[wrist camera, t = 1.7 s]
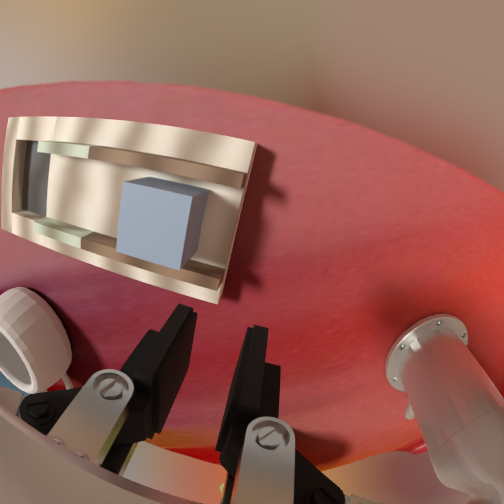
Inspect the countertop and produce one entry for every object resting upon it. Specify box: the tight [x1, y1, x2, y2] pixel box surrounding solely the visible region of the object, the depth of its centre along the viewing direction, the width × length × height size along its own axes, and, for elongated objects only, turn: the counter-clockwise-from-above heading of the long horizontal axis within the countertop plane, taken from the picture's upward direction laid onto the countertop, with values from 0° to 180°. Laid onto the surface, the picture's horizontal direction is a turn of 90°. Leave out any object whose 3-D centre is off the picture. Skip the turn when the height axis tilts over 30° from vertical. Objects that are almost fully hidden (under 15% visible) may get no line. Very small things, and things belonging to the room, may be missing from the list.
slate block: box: [116, 177, 209, 271], centre depth 24 cm, size 6×6×5 cm
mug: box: [0, 287, 73, 394], centre depth 33 cm, size 21×17×10 cm
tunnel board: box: [1, 117, 257, 304], centre depth 27 cm, size 34×16×5 cm, turn 77°
